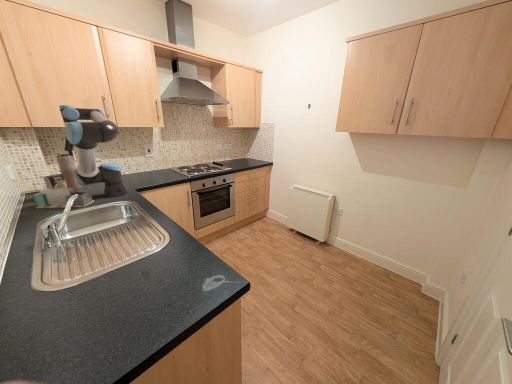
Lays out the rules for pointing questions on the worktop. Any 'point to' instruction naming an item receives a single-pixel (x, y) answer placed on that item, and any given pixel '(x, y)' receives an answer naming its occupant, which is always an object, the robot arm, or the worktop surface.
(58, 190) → the tube
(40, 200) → the socket
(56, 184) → the coffee box
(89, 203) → the board
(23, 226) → the worktop surface
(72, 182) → the vase
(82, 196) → the sleeve
